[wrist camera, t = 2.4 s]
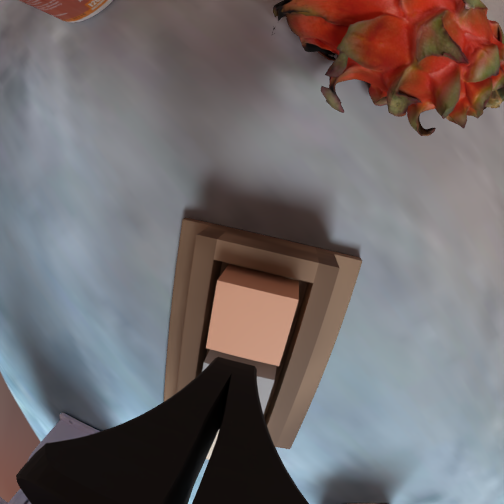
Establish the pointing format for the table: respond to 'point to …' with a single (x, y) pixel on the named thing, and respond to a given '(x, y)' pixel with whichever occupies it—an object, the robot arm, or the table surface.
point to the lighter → (367, 503)
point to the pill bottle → (70, 8)
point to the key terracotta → (252, 314)
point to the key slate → (263, 373)
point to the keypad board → (303, 326)
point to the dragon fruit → (407, 53)
